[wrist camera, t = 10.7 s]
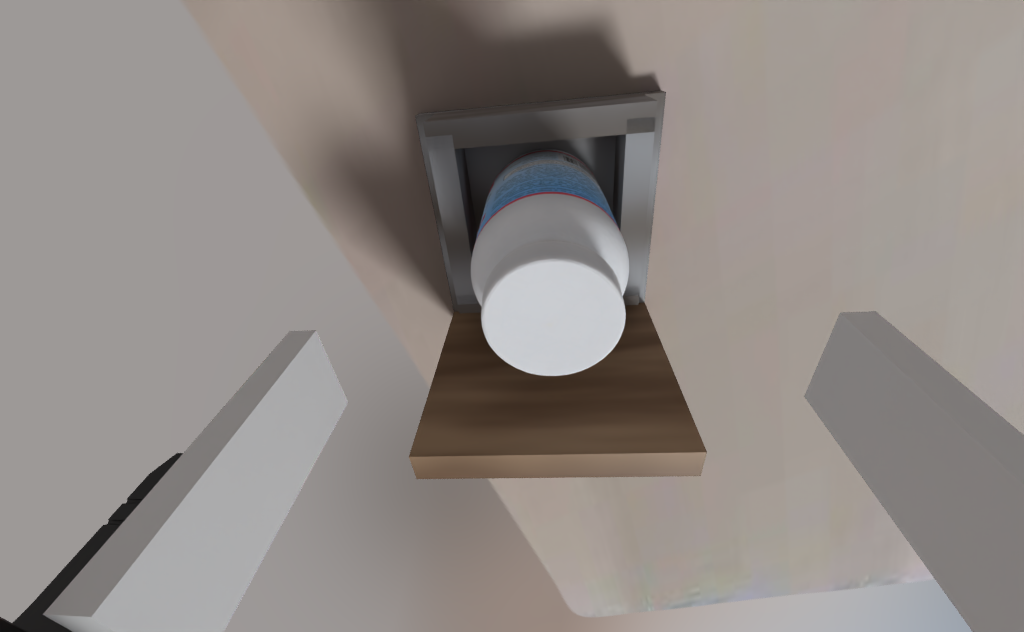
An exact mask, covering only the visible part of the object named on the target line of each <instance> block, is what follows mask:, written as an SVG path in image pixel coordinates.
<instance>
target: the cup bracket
mask: <svg viewBox="0 0 1024 632" xmlns="http://www.w3.org/2000/svg"><path fill="white" fill-rule="evenodd" d="M665 96H666V92H664V91H654V92H643V93H632V94H622V95H611V96H601V97H590V98H580V99H569V100H559V101H548V102H537V103H527V104H516V105H506V106H495V107H485V108H474V109H464V110H453V111H442V112H432V113H421V114H418V115H416V116H415V117H416V122H417V127H418V132H419V137H420V142H421V147H422V152H423V157H424V162H425V167H426V172H427V177H428V182H429V187H430V192H431V198H432V203H433V208H434V213H435V218H436V223H437V228H438V233H439V238H440V243H441V248H442V253H443V258H444V263H445V268H446V273H447V278H448V283H449V288H450V293H451V298H452V303H453V308H454V314H453V317H452V320H451V324H450V327H449V330H448V333H447V336H446V340H445V343H444V346H443V349H442V352H441V356H440V359H439V362H438V365H437V369H436V372H435V375H434V378H433V381H432V385H431V388H430V391H429V394H428V398H427V401H426V404H425V407H424V411H423V414H422V417H421V420H420V423H419V426H418V430H417V433H416V436H415V439H414V442H413V446H412V449H411V452H410V455H409V458H410V461H411V464H412V467H413V469H414V472H415V475H416V478H417V479H455V478H456V479H459V478H461V479H462V478H559V477H656V476H701V473H702V469H703V465H704V461H705V457H706V454H707V451H706V449H705V447H704V444H703V442H702V439H701V437H700V435H699V432H698V430H697V427H696V425H695V423H694V420H693V418H692V415H691V413H690V411H689V408H688V406H687V403H686V401H685V399H684V396H683V394H682V391H681V389H680V387H679V384H678V382H677V379H676V377H675V375H674V372H673V370H672V367H671V365H670V363H669V360H668V358H667V355H666V353H665V351H664V348H663V346H662V343H661V341H660V339H659V336H658V334H657V331H656V329H655V327H654V324H653V322H652V319H651V317H650V315H649V312H648V310H647V307H646V305H645V303H644V302H645V292H646V282H647V272H648V262H649V253H650V243H651V233H652V223H653V213H654V204H655V194H656V184H657V174H658V165H659V155H660V145H661V135H662V125H663V116H664V106H665ZM539 149H556V150H560V151H564V152H567V153H569V154H571V155H573V156H575V157H577V158H578V159H580V160H581V161H582V162H583V163H584V164H585V165H586V166H587V167H588V168H589V169H590V170H591V172H592V173H593V174H594V176H595V178H596V180H597V182H598V184H599V186H600V188H601V190H602V192H603V194H604V196H605V198H606V200H607V203H608V205H609V207H610V210H611V212H612V214H613V217H614V219H615V221H616V223H617V225H618V228H619V230H620V232H621V234H622V237H623V239H624V242H625V245H626V248H627V252H628V257H629V277H628V282H627V286H626V289H625V292H624V294H623V300H624V304H625V311H626V320H625V326H624V329H623V332H622V335H621V337H620V339H619V341H618V343H617V344H616V346H615V347H614V348H613V350H612V351H611V352H610V353H609V354H608V355H607V356H606V357H605V358H603V359H602V360H601V361H599V362H598V363H596V364H595V365H593V366H591V367H589V368H587V369H585V370H582V371H580V372H576V373H572V374H568V375H560V376H543V375H536V374H531V373H527V372H525V371H522V370H520V369H517V368H515V367H513V366H512V365H510V364H508V363H507V362H505V361H504V360H503V359H501V358H500V357H499V356H498V355H497V354H496V353H495V352H494V351H493V349H492V348H491V347H490V345H489V344H488V342H487V340H486V338H485V335H484V332H483V329H482V323H481V309H482V307H481V305H480V304H479V302H478V300H477V298H476V295H475V292H474V289H473V286H472V280H471V260H472V254H473V249H474V245H475V242H476V238H477V233H478V230H479V227H480V223H481V219H482V216H483V212H484V208H485V204H486V200H487V197H488V194H489V191H490V188H491V185H492V183H493V181H494V180H495V178H496V176H497V175H498V174H499V172H500V171H501V170H502V169H503V168H504V167H505V166H506V165H507V164H509V163H510V162H511V161H513V160H514V159H516V158H517V157H519V156H521V155H523V154H525V153H528V152H531V151H534V150H539Z"/></svg>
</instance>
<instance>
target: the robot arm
mask: <svg viewBox="0 0 1024 632" xmlns="http://www.w3.org/2000/svg"><path fill="white" fill-rule="evenodd" d="M804 397H805V398H806V399H807V401H808V402H809V404H810V405H811V406H812V408H813V409H814V411H815V412H816V413H817V415H818V416H819V418H820V419H821V420H822V422H823V423H824V425H825V426H826V427H827V429H828V430H829V432H830V433H831V434H832V436H833V437H834V439H835V440H836V441H837V443H838V444H839V446H840V447H841V448H842V450H843V451H844V453H845V454H846V455H847V457H848V458H849V460H850V461H851V462H852V464H853V465H854V466H855V468H856V469H857V471H858V472H859V473H860V475H861V476H862V478H863V479H864V480H865V482H866V483H867V485H868V486H869V487H870V489H871V490H872V492H873V493H874V494H875V496H876V497H877V499H878V500H879V501H880V503H881V504H882V506H883V507H884V508H885V510H886V511H887V513H888V514H889V515H890V517H891V518H892V520H893V521H894V522H895V524H896V525H897V527H898V528H899V529H900V531H901V532H902V534H903V535H904V536H905V538H906V539H907V541H908V542H909V543H910V545H911V546H912V548H913V549H914V550H915V552H916V553H917V555H918V556H919V557H920V559H921V560H922V561H923V563H924V564H925V566H926V567H927V568H928V570H929V571H930V573H931V574H932V575H933V577H934V578H935V580H936V581H937V582H938V584H939V585H940V587H941V588H942V589H943V591H944V592H945V594H946V595H947V596H948V598H949V599H950V601H951V602H952V603H953V605H954V606H955V608H956V609H957V610H958V612H959V613H960V614H961V616H962V617H963V619H964V620H965V622H966V623H967V624H968V626H969V627H970V629H971V630H972V631H973V632H1024V435H1023V434H1022V433H1020V432H1019V431H1018V430H1017V429H1016V428H1015V427H1013V426H1012V425H1011V424H1010V423H1009V422H1007V421H1006V420H1005V419H1004V418H1003V417H1001V416H1000V415H999V414H998V413H997V412H995V411H994V410H993V409H992V408H991V407H989V406H988V405H987V404H986V403H985V402H983V401H982V400H981V399H980V398H979V397H977V396H976V395H975V394H974V393H973V392H971V391H970V390H969V389H968V388H967V387H965V386H964V385H963V384H962V383H961V382H959V381H958V380H957V379H956V378H955V377H954V376H952V375H951V374H950V373H949V372H948V371H946V370H945V369H944V368H943V367H942V366H940V365H939V364H938V363H937V362H936V361H934V360H933V359H932V358H931V357H930V356H928V355H927V354H926V353H925V352H924V351H922V350H921V349H920V348H919V347H918V346H916V345H915V344H914V343H913V342H912V341H910V340H909V339H908V338H907V337H906V336H904V335H903V334H902V333H901V332H900V331H898V330H897V329H896V328H895V327H894V326H892V325H891V324H890V323H889V322H888V321H887V320H885V319H884V318H883V317H882V316H881V315H879V314H878V313H877V312H876V311H873V312H843V313H840V314H839V317H838V319H837V321H836V324H835V326H834V328H833V331H832V333H831V335H830V338H829V340H828V342H827V345H826V347H825V349H824V352H823V354H822V356H821V359H820V361H819V363H818V366H817V368H816V370H815V373H814V375H813V377H812V380H811V382H810V384H809V387H808V389H807V391H806V394H805V396H804ZM347 404H348V401H347V399H346V397H345V395H344V392H343V390H342V388H341V385H340V383H339V381H338V379H337V376H336V374H335V372H334V370H333V367H332V365H331V363H330V361H329V358H328V356H327V354H326V351H325V349H324V347H323V345H322V342H321V340H320V338H319V336H318V333H317V331H316V330H311V331H290V332H289V333H288V334H287V335H286V336H285V337H284V338H283V339H282V341H281V342H280V343H279V344H278V345H277V346H276V348H275V349H274V350H273V351H272V352H271V353H270V354H269V356H268V357H267V358H266V359H265V360H264V361H263V363H262V364H261V365H260V366H259V367H258V368H257V369H256V371H255V372H254V373H253V374H252V375H251V376H250V377H249V379H248V380H247V381H246V382H245V383H244V384H243V385H242V387H241V388H240V389H239V390H238V391H237V392H236V393H235V395H234V396H233V397H232V398H231V399H230V400H229V401H228V403H227V404H226V405H225V406H224V407H223V408H222V409H221V411H220V412H219V413H218V414H217V415H216V416H215V418H214V419H213V420H212V421H211V422H210V423H209V424H208V426H207V427H206V428H205V429H204V430H203V431H202V433H201V434H200V435H199V436H198V437H197V438H196V440H195V441H194V442H193V443H192V444H191V445H190V446H189V447H188V449H187V450H186V451H185V452H184V453H177V454H176V455H174V456H173V457H171V458H170V459H169V460H167V461H166V462H165V463H163V464H162V465H161V466H159V467H158V468H157V469H156V470H154V471H153V472H152V473H150V474H149V475H148V476H147V477H146V478H145V480H144V481H143V482H142V483H141V484H140V485H139V486H138V487H137V488H136V490H135V491H134V492H133V493H132V494H131V495H130V496H129V497H128V499H127V500H128V501H127V503H126V504H122V505H121V506H120V507H119V508H118V509H117V510H116V512H115V513H114V514H113V515H112V516H111V517H110V518H109V519H108V520H109V522H108V524H107V525H103V526H102V527H101V528H100V529H99V530H98V532H96V534H95V535H94V536H93V537H92V538H91V539H90V540H89V541H88V542H87V544H86V545H85V546H84V547H83V548H82V549H81V550H80V551H79V552H78V553H77V555H76V556H75V557H74V558H73V559H72V560H71V561H70V562H69V563H68V564H67V566H66V567H65V568H64V569H63V570H62V571H61V572H60V573H59V574H58V575H57V577H56V578H55V579H54V580H53V581H52V582H51V583H50V584H49V586H47V588H46V589H45V590H44V591H43V592H42V593H41V594H40V595H39V596H38V597H37V599H36V600H35V601H34V602H33V603H32V604H31V605H30V606H29V607H28V608H27V609H26V610H25V611H24V612H23V613H22V614H21V615H20V616H19V617H18V618H17V619H16V620H15V621H14V622H13V623H10V622H9V621H7V620H5V619H3V618H1V617H0V632H224V630H225V628H226V627H227V625H228V623H229V621H230V619H231V617H232V616H233V614H234V612H235V610H236V608H237V606H238V604H239V603H240V601H241V599H242V597H243V595H244V593H245V592H246V590H247V588H248V586H249V584H250V582H251V580H252V579H253V577H254V575H255V573H256V571H257V569H258V568H259V566H260V564H261V562H262V560H263V558H264V557H265V555H266V553H267V551H268V549H269V547H270V545H271V543H272V542H273V540H274V538H275V536H276V534H277V533H278V531H279V529H280V527H281V525H282V523H283V522H284V520H285V518H286V516H287V514H288V512H289V510H290V509H291V507H292V505H293V503H294V501H295V499H296V498H297V496H298V494H299V492H300V490H301V488H302V486H303V484H304V483H305V481H306V479H307V477H308V475H309V474H310V472H311V470H312V468H313V466H314V464H315V462H316V461H317V459H318V457H319V455H320V453H321V451H322V450H323V448H324V446H325V444H326V442H327V440H328V438H329V437H330V435H331V433H332V431H333V429H334V427H335V426H336V424H337V422H338V420H339V418H340V416H341V415H342V413H343V411H344V409H345V407H346V405H347Z"/></svg>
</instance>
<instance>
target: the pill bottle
mask: <svg viewBox="0 0 1024 632" xmlns="http://www.w3.org/2000/svg"><path fill="white" fill-rule="evenodd" d="M628 277H629V257H628V252H627V248H626V245H625V242H624V239H623V237H622V234H621V232H620V230H619V228H618V225H617V223H616V221H615V219H614V217H613V214H612V212H611V210H610V207H609V205H608V203H607V200H606V198H605V196H604V194H603V192H602V190H601V188H600V186H599V184H598V182H597V180H596V178H595V176H594V174H593V173H592V172H591V170H590V169H589V168H588V167H587V166H586V165H585V164H584V163H583V162H582V161H581V160H580V159H578V158H577V157H575V156H573V155H571V154H569V153H567V152H564V151H560V150H556V149H539V150H534V151H531V152H528V153H525V154H523V155H521V156H519V157H517V158H516V159H514V160H513V161H511V162H510V163H509V164H507V165H506V166H505V167H504V168H503V169H502V170H501V171H500V172H499V174H498V175H497V176H496V178H495V180H494V181H493V183H492V185H491V188H490V191H489V194H488V197H487V200H486V204H485V208H484V212H483V216H482V219H481V223H480V227H479V230H478V233H477V238H476V242H475V245H474V249H473V254H472V260H471V280H472V286H473V289H474V292H475V295H476V298H477V300H478V302H479V304H480V305H481V307H482V309H481V323H482V329H483V332H484V335H485V338H486V340H487V342H488V344H489V345H490V347H491V348H492V349H493V351H494V352H495V353H496V354H497V355H498V356H499V357H500V358H501V359H503V360H504V361H505V362H507V363H508V364H510V365H512V366H513V367H515V368H517V369H520V370H522V371H525V372H527V373H531V374H536V375H543V376H560V375H568V374H572V373H576V372H580V371H582V370H585V369H587V368H589V367H591V366H593V365H595V364H596V363H598V362H599V361H601V360H602V359H603V358H605V357H606V356H607V355H608V354H609V353H610V352H611V351H612V350H613V348H614V347H615V346H616V344H617V343H618V341H619V339H620V337H621V335H622V332H623V329H624V326H625V320H626V311H625V304H624V300H623V294H624V292H625V289H626V286H627V282H628Z"/></svg>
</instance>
